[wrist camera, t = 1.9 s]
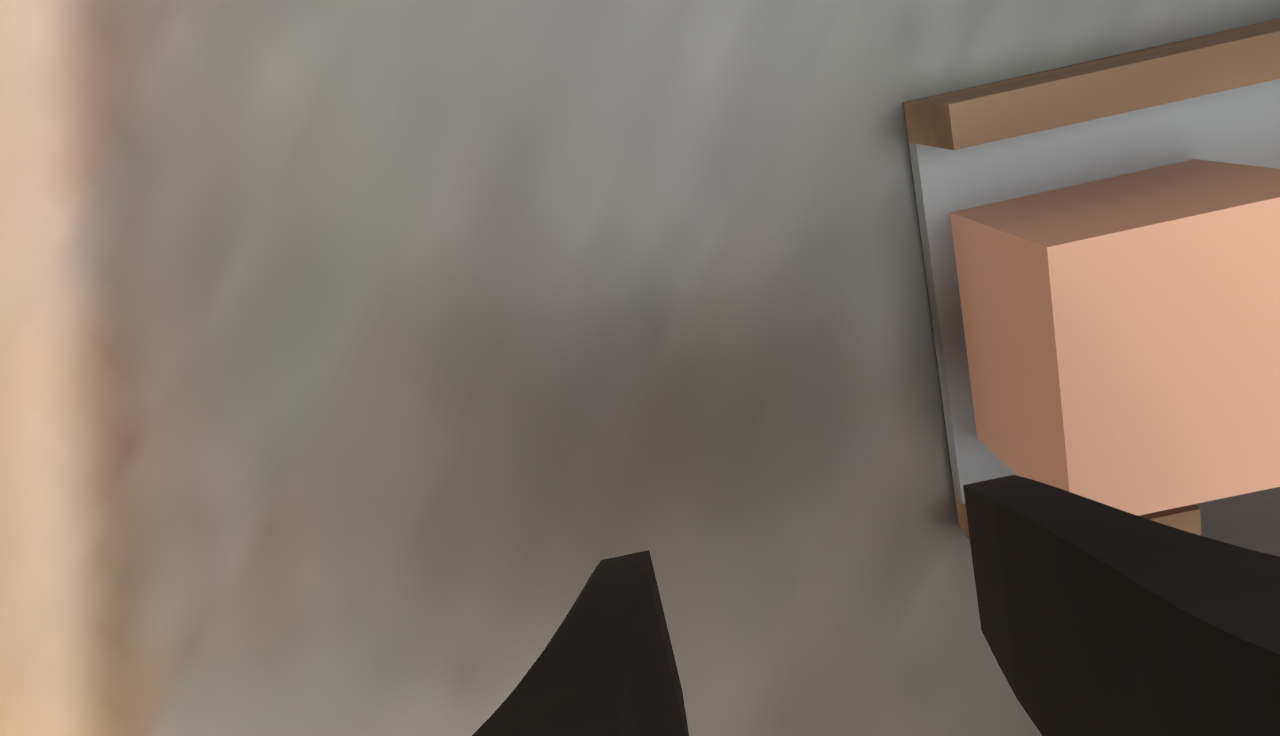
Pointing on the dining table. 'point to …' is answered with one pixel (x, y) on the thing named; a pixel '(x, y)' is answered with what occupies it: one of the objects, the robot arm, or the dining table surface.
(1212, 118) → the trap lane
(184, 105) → the dining table surface
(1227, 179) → the block
